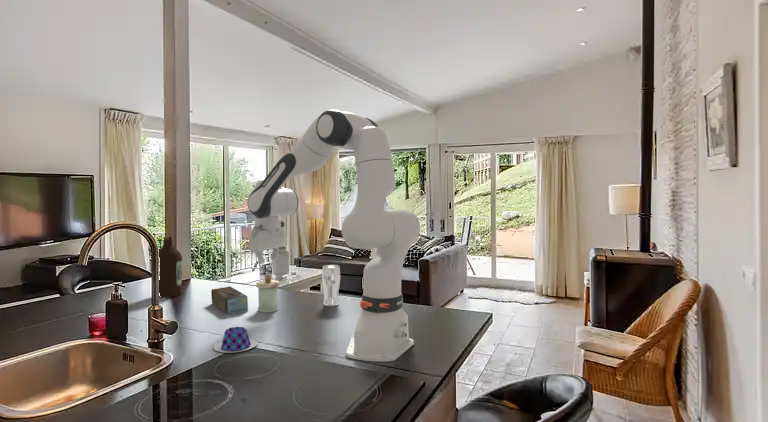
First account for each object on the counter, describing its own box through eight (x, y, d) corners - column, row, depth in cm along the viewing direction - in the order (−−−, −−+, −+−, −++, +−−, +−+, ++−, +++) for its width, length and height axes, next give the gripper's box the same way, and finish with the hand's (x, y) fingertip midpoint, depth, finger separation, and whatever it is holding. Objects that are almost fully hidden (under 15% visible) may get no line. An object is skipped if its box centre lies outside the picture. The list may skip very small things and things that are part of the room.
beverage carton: (226, 315, 159) (226, 297, 159) (210, 304, 174) (210, 288, 174) (248, 311, 164) (248, 294, 163) (231, 301, 179) (230, 285, 179)
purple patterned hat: (207, 346, 128) (207, 328, 128) (247, 337, 136) (247, 320, 136) (222, 358, 119) (221, 339, 119) (264, 348, 127) (264, 330, 126)
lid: (272, 288, 160) (272, 277, 160) (251, 287, 162) (251, 276, 162) (283, 284, 168) (283, 273, 168) (263, 282, 170) (263, 271, 170)
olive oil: (152, 298, 182) (150, 238, 181) (159, 292, 192) (157, 235, 191) (180, 297, 184) (178, 237, 183) (185, 291, 195) (184, 234, 193)
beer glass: (339, 306, 170) (338, 267, 169) (321, 306, 170) (320, 267, 169) (341, 301, 177) (341, 264, 176) (323, 301, 177) (323, 264, 176)
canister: (272, 313, 161) (272, 288, 161) (253, 311, 163) (253, 287, 162) (282, 307, 168) (282, 284, 168) (264, 306, 170) (264, 283, 170)
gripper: (260, 226, 153) (261, 266, 154) (287, 222, 173) (288, 257, 173) (243, 226, 155) (244, 265, 155) (272, 222, 174) (273, 257, 175)
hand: (267, 261), depth 164 cm, fingers open, 8 cm apart
